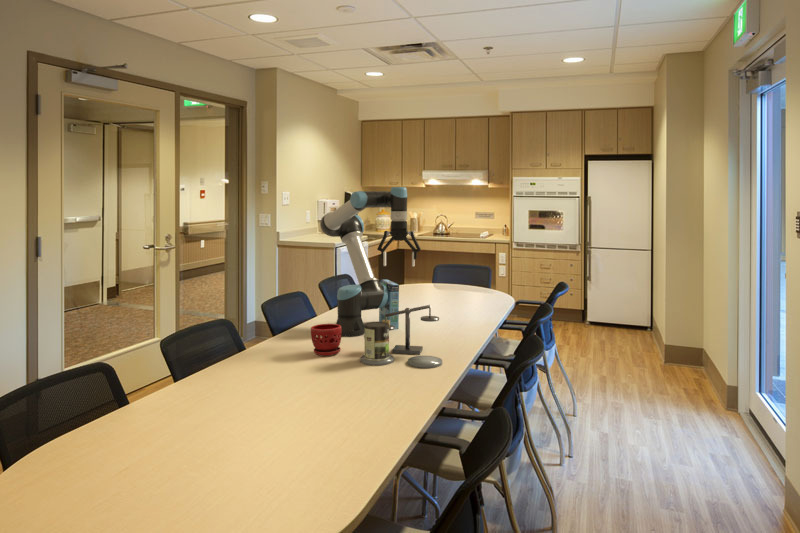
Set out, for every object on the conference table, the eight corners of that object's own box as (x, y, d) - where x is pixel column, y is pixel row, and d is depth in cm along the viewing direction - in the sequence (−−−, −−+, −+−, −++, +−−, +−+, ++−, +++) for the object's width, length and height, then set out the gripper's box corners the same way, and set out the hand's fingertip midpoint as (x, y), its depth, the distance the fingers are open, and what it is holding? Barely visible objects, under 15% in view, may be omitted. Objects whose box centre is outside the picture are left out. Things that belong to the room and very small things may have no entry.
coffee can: (391, 354, 245) (391, 321, 243) (386, 361, 235) (385, 327, 233) (367, 353, 247) (367, 320, 245) (361, 360, 237) (361, 326, 235)
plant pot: (345, 350, 257) (345, 323, 256) (335, 358, 244) (335, 330, 243) (317, 348, 260) (317, 322, 259) (306, 356, 247) (306, 328, 246)
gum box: (378, 321, 314) (378, 279, 311) (388, 321, 315) (387, 279, 312) (389, 329, 295) (389, 285, 293) (399, 329, 297) (399, 284, 294)
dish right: (405, 367, 232) (405, 364, 232) (410, 357, 245) (410, 354, 245) (440, 369, 229) (440, 366, 229) (444, 359, 243) (444, 356, 243)
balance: (374, 352, 253) (374, 304, 251) (379, 347, 261) (378, 301, 259) (437, 355, 248) (438, 306, 246) (440, 350, 256) (440, 303, 253)
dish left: (356, 364, 235) (356, 361, 235) (364, 355, 249) (364, 352, 249) (390, 366, 233) (390, 363, 233) (396, 356, 246) (396, 353, 246)
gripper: (370, 220, 269) (371, 266, 272) (424, 221, 265) (424, 267, 267) (374, 219, 277) (374, 264, 279) (426, 220, 272) (426, 265, 275)
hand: (399, 266), depth 273 cm, fingers open, 13 cm apart
